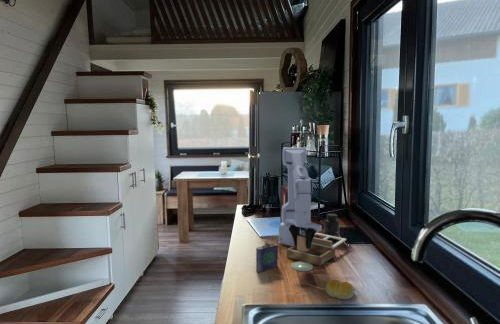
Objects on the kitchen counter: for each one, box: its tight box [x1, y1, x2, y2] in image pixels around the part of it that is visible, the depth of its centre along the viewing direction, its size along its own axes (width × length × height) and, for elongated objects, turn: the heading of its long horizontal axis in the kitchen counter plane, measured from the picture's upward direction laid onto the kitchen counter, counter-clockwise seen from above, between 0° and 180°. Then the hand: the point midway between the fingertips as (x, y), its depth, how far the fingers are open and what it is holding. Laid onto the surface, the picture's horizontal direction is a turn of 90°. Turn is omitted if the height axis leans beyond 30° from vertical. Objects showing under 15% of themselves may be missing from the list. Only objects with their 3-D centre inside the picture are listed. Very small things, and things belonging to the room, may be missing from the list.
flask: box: [255, 240, 279, 273], centre depth 134 cm, size 9×3×11 cm, turn 121°
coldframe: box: [286, 244, 336, 267], centre depth 146 cm, size 15×13×4 cm
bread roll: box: [325, 279, 356, 300], centre depth 116 cm, size 8×9×4 cm
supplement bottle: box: [323, 213, 341, 243], centre depth 167 cm, size 7×7×12 cm
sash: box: [311, 232, 347, 249], centre depth 155 cm, size 15×13×3 cm
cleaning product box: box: [279, 184, 305, 231], centre depth 190 cm, size 16×9×20 cm, turn 6°
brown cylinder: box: [297, 233, 309, 252], centre depth 135 cm, size 4×4×6 cm
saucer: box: [291, 261, 314, 272], centre depth 136 cm, size 8×8×1 cm
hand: (302, 246), depth 135 cm, fingers closed on brown cylinder, 4 cm apart
